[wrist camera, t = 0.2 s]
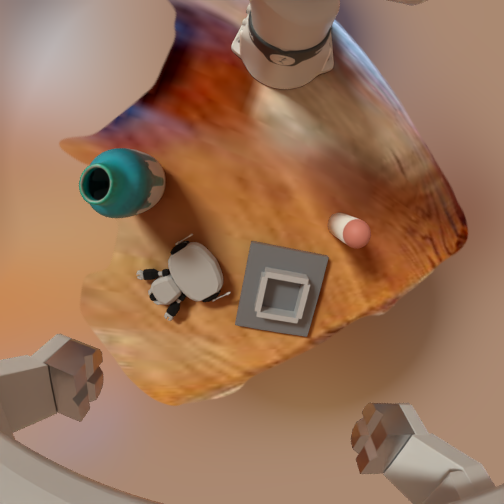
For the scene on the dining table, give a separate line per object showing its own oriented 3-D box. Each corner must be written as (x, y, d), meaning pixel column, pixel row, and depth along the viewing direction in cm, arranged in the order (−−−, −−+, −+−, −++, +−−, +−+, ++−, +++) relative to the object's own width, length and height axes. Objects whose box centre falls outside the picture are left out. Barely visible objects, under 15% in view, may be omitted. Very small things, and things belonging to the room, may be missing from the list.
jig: (251, 240, 56) (251, 245, 51) (326, 255, 56) (332, 261, 52) (235, 321, 59) (234, 332, 55) (305, 333, 59) (309, 344, 55)
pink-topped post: (330, 210, 54) (350, 217, 42) (353, 215, 54) (378, 224, 42) (325, 234, 55) (343, 247, 43) (347, 238, 55) (370, 253, 43)
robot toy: (173, 317, 60) (236, 284, 57) (166, 328, 56) (232, 293, 53) (138, 266, 58) (200, 227, 55) (128, 274, 54) (193, 232, 51)
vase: (163, 218, 55) (120, 236, 36) (113, 202, 54) (56, 213, 35) (179, 161, 53) (142, 152, 34) (128, 148, 52) (74, 136, 33)
